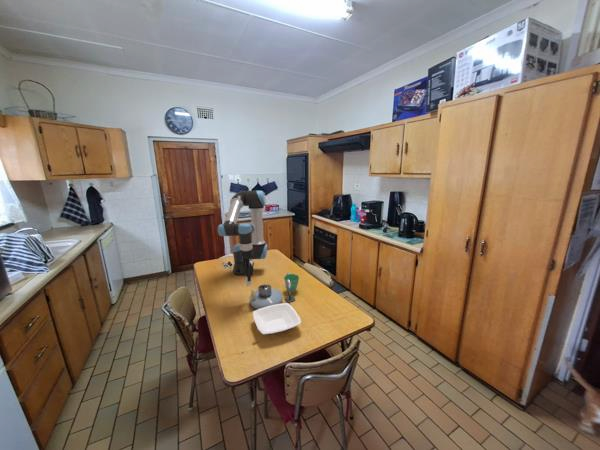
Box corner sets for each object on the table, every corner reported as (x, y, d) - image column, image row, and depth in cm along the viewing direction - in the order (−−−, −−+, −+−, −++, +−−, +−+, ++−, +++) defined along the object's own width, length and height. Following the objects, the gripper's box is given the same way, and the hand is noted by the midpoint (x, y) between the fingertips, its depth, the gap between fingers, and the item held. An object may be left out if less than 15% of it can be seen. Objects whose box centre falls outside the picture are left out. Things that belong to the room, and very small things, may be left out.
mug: (300, 293, 161) (300, 279, 159) (286, 295, 158) (286, 281, 156) (294, 283, 175) (294, 270, 172) (281, 285, 172) (281, 272, 170)
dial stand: (284, 299, 154) (284, 279, 151) (291, 297, 156) (291, 277, 153) (288, 302, 150) (287, 282, 146) (295, 300, 152) (294, 280, 149)
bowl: (261, 347, 114) (261, 336, 112) (250, 319, 135) (250, 310, 133) (304, 333, 122) (304, 323, 121) (288, 309, 143) (288, 300, 142)
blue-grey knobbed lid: (245, 297, 154) (244, 283, 151) (274, 288, 163) (273, 276, 161) (256, 313, 137) (255, 298, 135) (287, 302, 147) (287, 288, 144)
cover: (256, 293, 153) (256, 286, 151) (268, 290, 157) (267, 282, 155) (261, 299, 146) (261, 291, 145) (273, 295, 150) (273, 288, 149)
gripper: (235, 248, 148) (238, 283, 153) (245, 253, 138) (248, 291, 143) (246, 245, 152) (249, 280, 158) (257, 250, 143) (259, 287, 148)
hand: (248, 285), depth 151 cm, fingers closed
